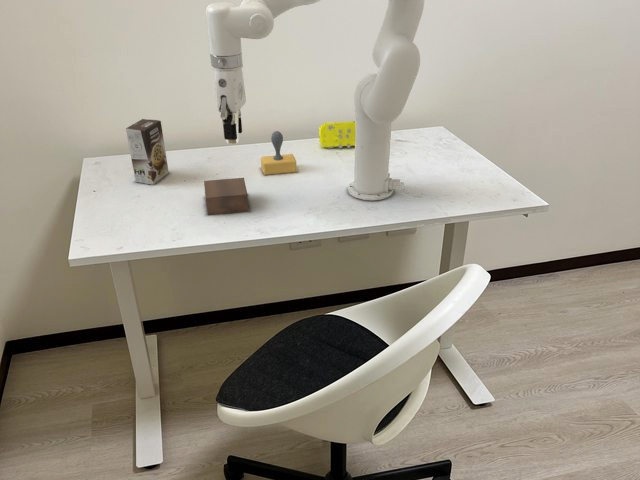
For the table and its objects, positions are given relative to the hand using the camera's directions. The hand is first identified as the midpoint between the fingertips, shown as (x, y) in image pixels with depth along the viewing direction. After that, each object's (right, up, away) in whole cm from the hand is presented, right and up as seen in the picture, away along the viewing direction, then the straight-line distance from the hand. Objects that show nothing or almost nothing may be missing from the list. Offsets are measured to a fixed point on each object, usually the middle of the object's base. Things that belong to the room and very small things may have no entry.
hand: (233, 135), depth 159 cm
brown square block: (-3, -16, +11) cm, 19 cm away
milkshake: (0, -2, +1) cm, 2 cm away
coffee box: (-28, -5, +26) cm, 38 cm away
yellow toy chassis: (+30, +10, +46) cm, 56 cm away
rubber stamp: (+10, -2, +30) cm, 31 cm away
